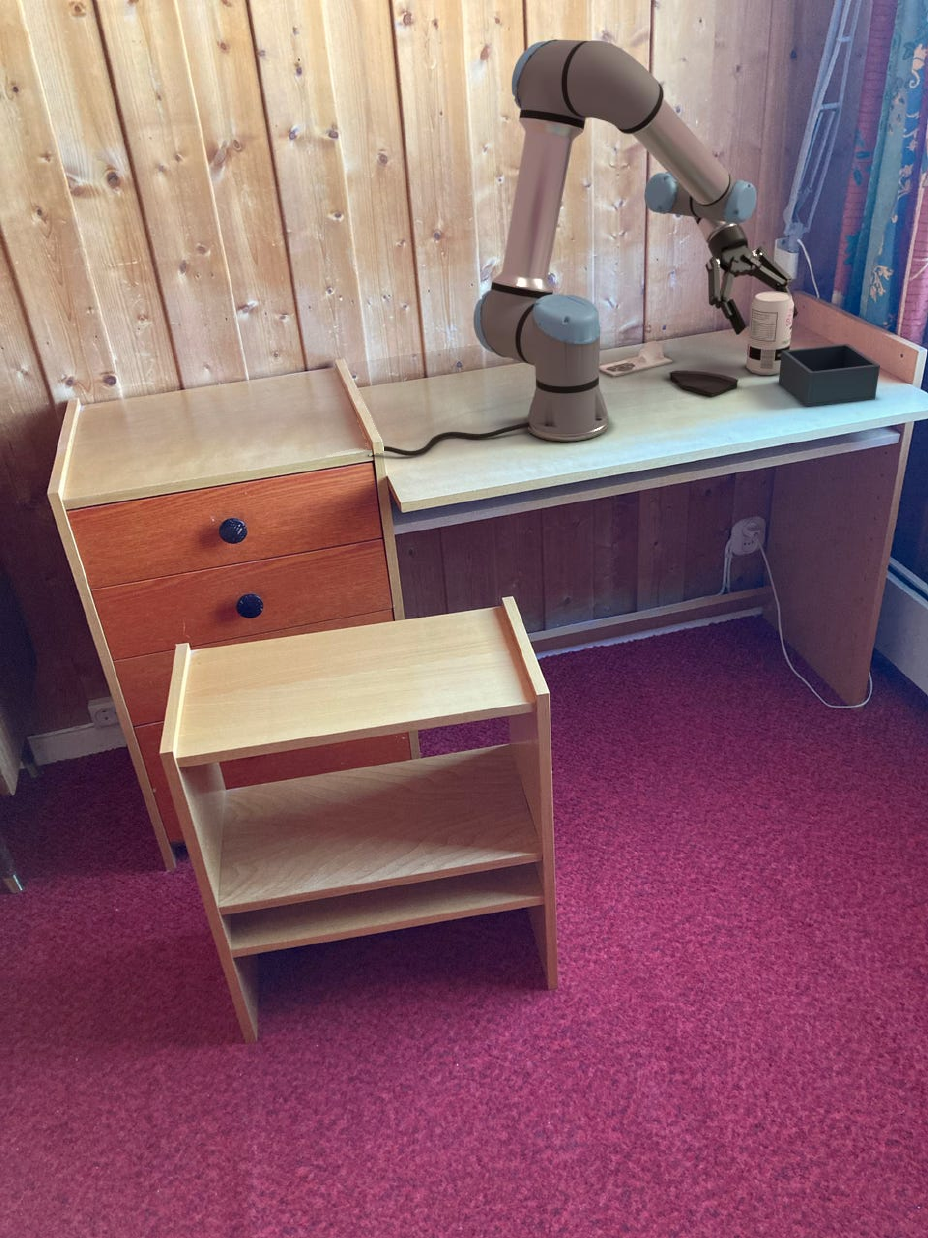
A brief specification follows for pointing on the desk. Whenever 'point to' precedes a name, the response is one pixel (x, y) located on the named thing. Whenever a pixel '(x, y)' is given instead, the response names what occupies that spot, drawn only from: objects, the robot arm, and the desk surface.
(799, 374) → the bin
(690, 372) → the fan shaped piece
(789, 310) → the supplement can
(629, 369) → the white plate with bracket
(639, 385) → the desk surface
